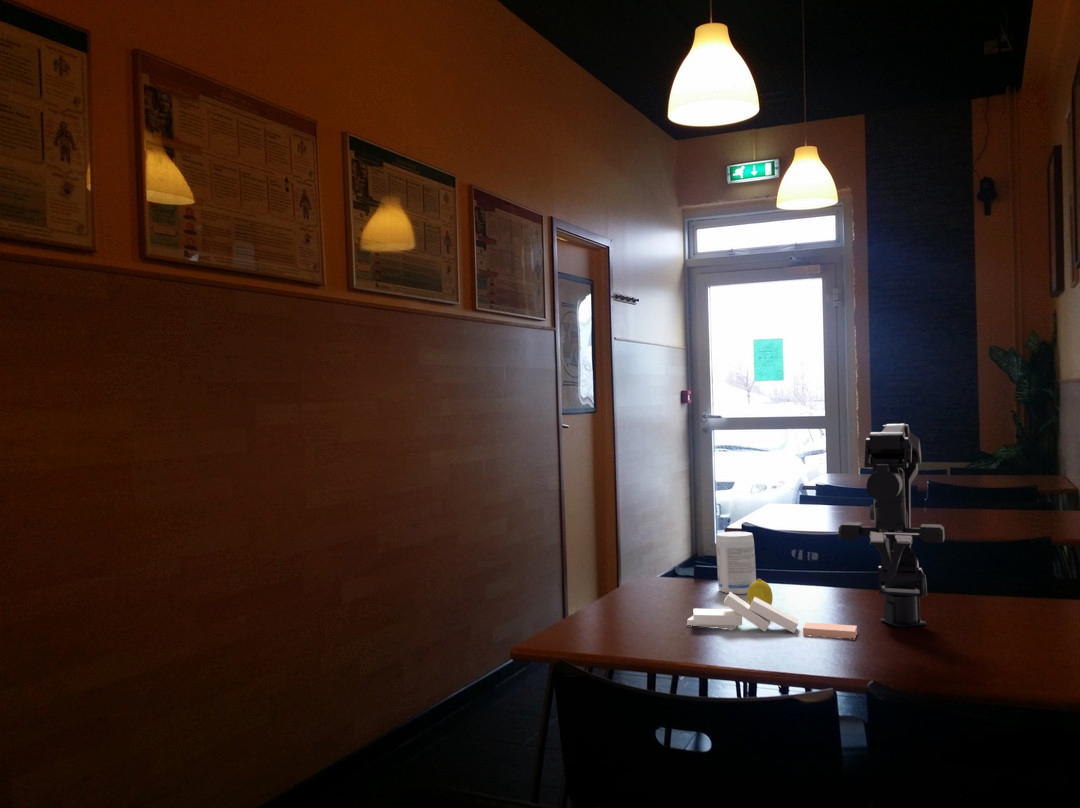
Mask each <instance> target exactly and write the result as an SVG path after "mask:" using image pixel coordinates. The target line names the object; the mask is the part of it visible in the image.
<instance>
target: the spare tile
mask: <svg viewBox="0 0 1080 808" xmlns="http://www.w3.org/2000/svg"><path fill="white" fill-rule="evenodd" d="M803 635H811V636H810V637H814V636H825V637H824V638H828V637H838V638H837V639H842V638H853V639H852V640H856V639H855V638H857V636H858V626H857V625H852V624H851V625H850V624H837V623H836V624H835V623H822V622H808V621H807V622H805V624H804V625H803V628H802V636H803ZM856 635H857V636H856ZM839 637H840V638H839Z"/></svg>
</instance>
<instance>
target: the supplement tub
mask: <svg viewBox="0 0 1080 808" xmlns="http://www.w3.org/2000/svg"><path fill="white" fill-rule="evenodd" d="M754 539H755V538H754V535H753V533H752V532H748V531H723V532H718V533H716V535H715V549H716V565H717V566H716V567H717V581H718V582H717V584H718V585H717V586H718V590H719V591H720V592H721V591H722V592H721V593H723V592H725V593H724V594H727V593H729V592H732V593H734V594H735V595H747V593H748V588H749V586H750V585H751V583H752V582H754V581H756V580H757V572H756V554H755V550H756V549H755V541H754Z"/></svg>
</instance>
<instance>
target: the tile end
mask: <svg viewBox="0 0 1080 808" xmlns="http://www.w3.org/2000/svg"><path fill="white" fill-rule="evenodd" d="M686 622H687V623H686V624H687V625H691V626H690V627H692V625H693V626H704V627H718V628H727V629H734V628H735V627H736V626H737V625H704V624H694V619H693V615H692V616H690V617H689V618H687V620H686ZM737 627H738V626H737ZM737 627H736V628H737ZM736 628H735V629H736ZM735 629H734V630H735Z"/></svg>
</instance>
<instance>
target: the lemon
mask: <svg viewBox="0 0 1080 808" xmlns="http://www.w3.org/2000/svg"><path fill="white" fill-rule="evenodd" d="M746 595H747V603H748V604H749V605H751V603H752V601H753V599H754V597H756V598H758V599H760V600H762V601H764V602H766V603H768V604H770V605H772V604H773V591H772V588H771V585H769V583H767V582H766V581H764V580H762V579H761V578H756V581H754V582H752V583H751V585H750V586H749V588H748V593H747V594H746Z"/></svg>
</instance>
